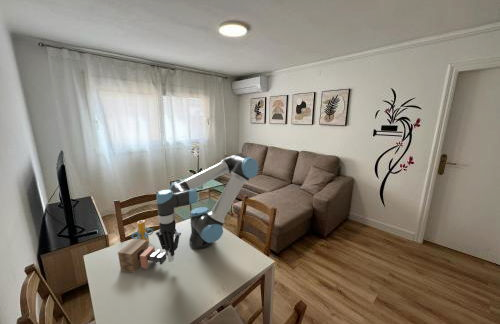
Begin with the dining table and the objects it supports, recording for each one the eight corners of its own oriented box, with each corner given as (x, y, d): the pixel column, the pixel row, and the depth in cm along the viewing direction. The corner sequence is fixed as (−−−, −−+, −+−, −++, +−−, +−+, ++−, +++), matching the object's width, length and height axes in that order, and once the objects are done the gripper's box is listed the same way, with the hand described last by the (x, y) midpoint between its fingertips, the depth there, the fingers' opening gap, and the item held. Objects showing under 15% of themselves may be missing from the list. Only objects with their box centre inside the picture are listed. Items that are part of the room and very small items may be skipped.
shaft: (167, 259, 111) (166, 251, 110) (161, 266, 106) (160, 257, 105) (138, 254, 114) (137, 246, 113) (131, 261, 109) (130, 252, 108)
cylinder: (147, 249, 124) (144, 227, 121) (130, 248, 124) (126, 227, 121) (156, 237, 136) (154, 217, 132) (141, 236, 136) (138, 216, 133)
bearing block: (149, 256, 118) (147, 240, 115) (134, 272, 106) (131, 254, 103) (137, 254, 119) (134, 238, 116) (120, 270, 108) (117, 252, 105)
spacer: (155, 258, 114) (154, 247, 112) (146, 268, 107) (144, 256, 105) (150, 257, 115) (149, 246, 113) (141, 267, 107) (139, 255, 105)
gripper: (182, 218, 104) (185, 257, 110) (159, 215, 106) (164, 254, 112) (175, 225, 97) (178, 267, 102) (150, 223, 99) (155, 263, 105)
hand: (171, 260), depth 107 cm, fingers closed
